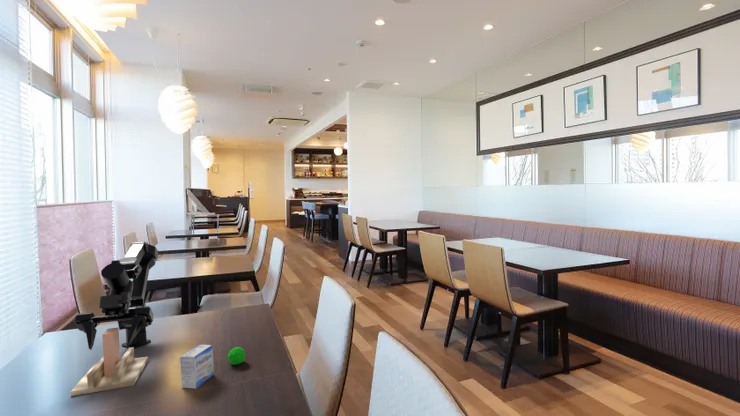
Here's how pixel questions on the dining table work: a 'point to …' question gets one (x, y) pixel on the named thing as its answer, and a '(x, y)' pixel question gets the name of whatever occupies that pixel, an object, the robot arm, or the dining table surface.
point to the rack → (121, 375)
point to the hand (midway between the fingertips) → (109, 346)
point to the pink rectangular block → (110, 350)
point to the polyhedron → (236, 356)
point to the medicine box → (196, 366)
